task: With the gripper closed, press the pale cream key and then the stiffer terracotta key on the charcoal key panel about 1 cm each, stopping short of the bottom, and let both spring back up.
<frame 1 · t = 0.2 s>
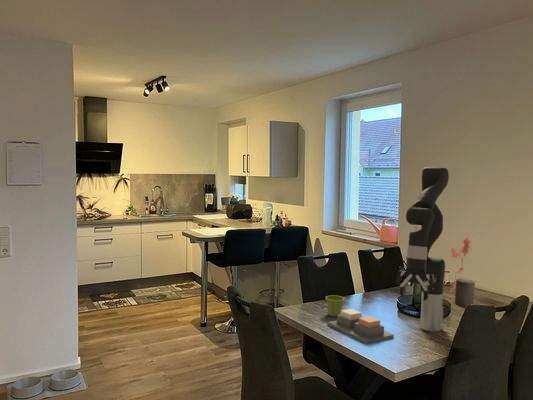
hand: (413, 298, 177), 22 cm above the table, tool pointing down, fingers open, 8 cm apart
terracotta key: (369, 322, 197), point 6 cm above the table, slide at 0.1 cm
plant pot: (334, 315, 225), on the table
key panel: (359, 331, 202), on the table
cream key: (351, 314, 207), point 6 cm above the table, slide at 0.1 cm
pillar candle: (464, 304, 251), on the table
pink flower sprig: (463, 293, 276), on the table
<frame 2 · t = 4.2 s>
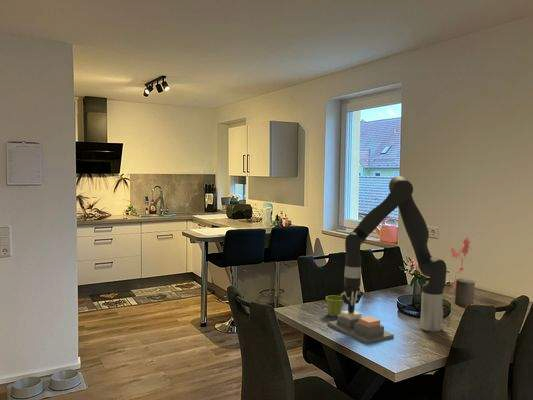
hand: (351, 312, 207), 7 cm above the table, tool pointing down, fingers closed
cream key: (351, 315, 207), point 5 cm above the table, slide at 0.6 cm, touching gripper
everything else where it was.
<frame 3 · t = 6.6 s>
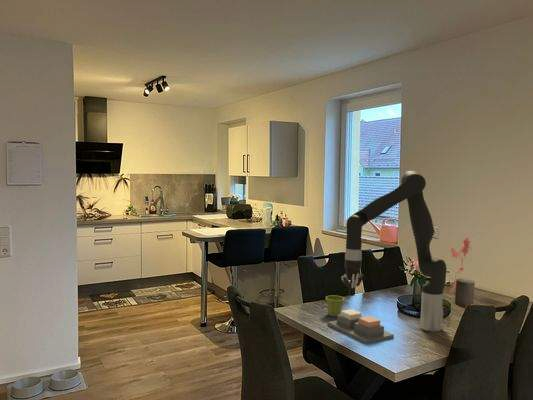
hand: (351, 295, 207), 15 cm above the table, tool pointing down, fingers closed
cream key: (351, 315, 207), point 6 cm above the table, slide at 0.3 cm
everything else where it was.
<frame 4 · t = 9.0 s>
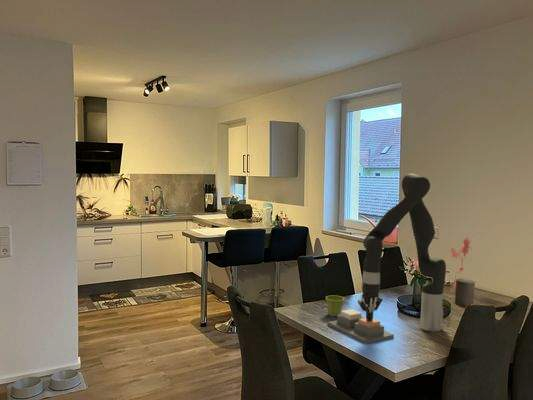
hand: (369, 320, 196), 7 cm above the table, tool pointing down, fingers closed
terracotta key: (369, 323, 197), point 5 cm above the table, slide at 0.6 cm, touching gripper
everything else where it was.
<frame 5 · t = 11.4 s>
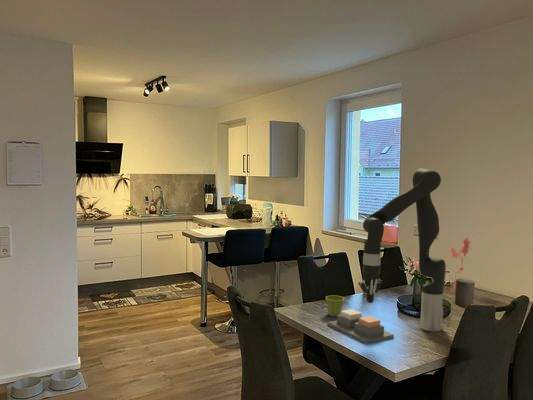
hand: (370, 302, 196), 15 cm above the table, tool pointing down, fingers closed
terracotta key: (369, 322, 197), point 6 cm above the table, slide at 0.1 cm
everything else where it was.
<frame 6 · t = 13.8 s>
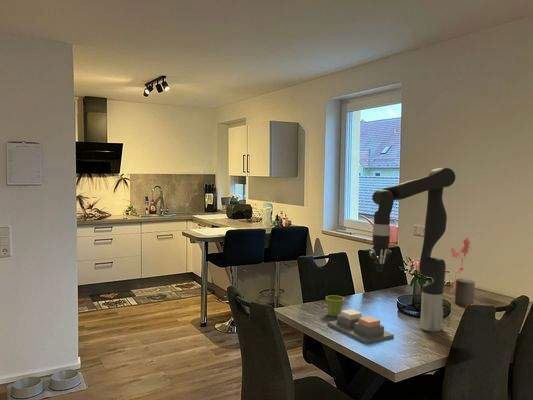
hand: (379, 271, 204), 27 cm above the table, tool pointing down, fingers closed
nothing on the table moved.
at the end: cream key slide at 0.3 cm; terracotta key slide at 0.1 cm; plant pot moved 0.3 cm from its start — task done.
